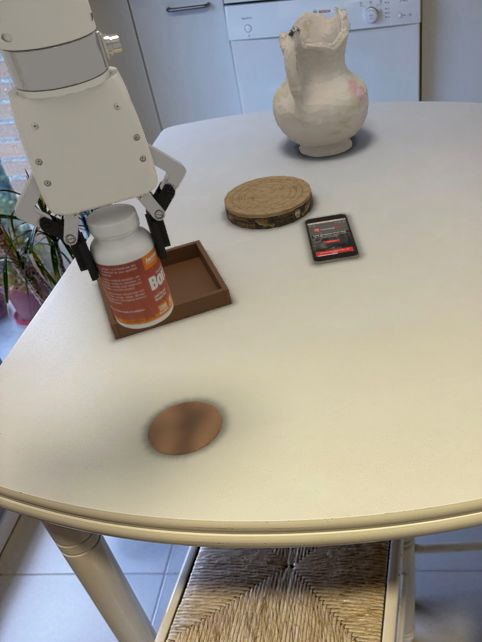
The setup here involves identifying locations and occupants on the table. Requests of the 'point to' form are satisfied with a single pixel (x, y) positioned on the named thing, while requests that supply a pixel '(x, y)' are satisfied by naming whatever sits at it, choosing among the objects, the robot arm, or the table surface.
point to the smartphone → (331, 239)
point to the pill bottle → (129, 267)
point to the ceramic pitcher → (319, 86)
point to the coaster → (185, 428)
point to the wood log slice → (268, 202)
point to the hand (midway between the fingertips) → (127, 262)
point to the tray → (182, 287)
